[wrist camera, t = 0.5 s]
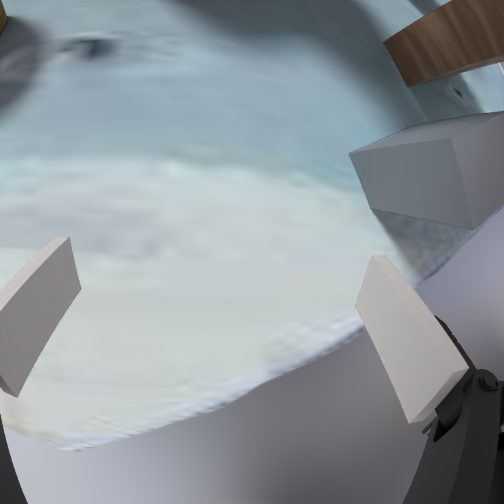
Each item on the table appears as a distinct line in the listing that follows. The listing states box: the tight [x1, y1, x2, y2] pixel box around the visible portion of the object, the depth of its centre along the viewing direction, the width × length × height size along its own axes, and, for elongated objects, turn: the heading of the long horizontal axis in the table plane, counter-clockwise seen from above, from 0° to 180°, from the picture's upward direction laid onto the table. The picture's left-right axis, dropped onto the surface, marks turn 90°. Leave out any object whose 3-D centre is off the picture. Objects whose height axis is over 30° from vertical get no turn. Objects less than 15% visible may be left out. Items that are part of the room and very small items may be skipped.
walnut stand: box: [383, 0, 504, 86], centre depth 18 cm, size 14×8×28 cm, turn 117°
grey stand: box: [349, 111, 504, 231], centre depth 26 cm, size 13×8×18 cm, turn 117°
